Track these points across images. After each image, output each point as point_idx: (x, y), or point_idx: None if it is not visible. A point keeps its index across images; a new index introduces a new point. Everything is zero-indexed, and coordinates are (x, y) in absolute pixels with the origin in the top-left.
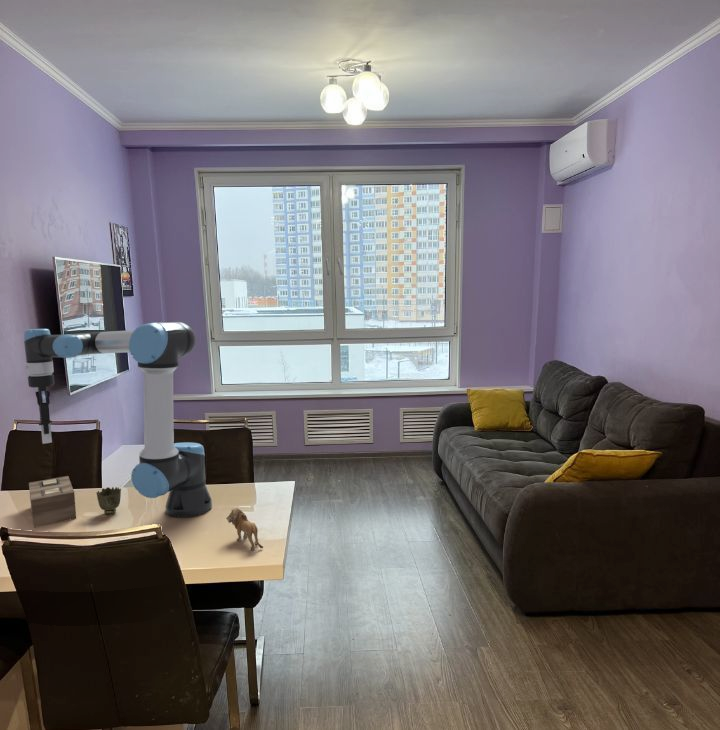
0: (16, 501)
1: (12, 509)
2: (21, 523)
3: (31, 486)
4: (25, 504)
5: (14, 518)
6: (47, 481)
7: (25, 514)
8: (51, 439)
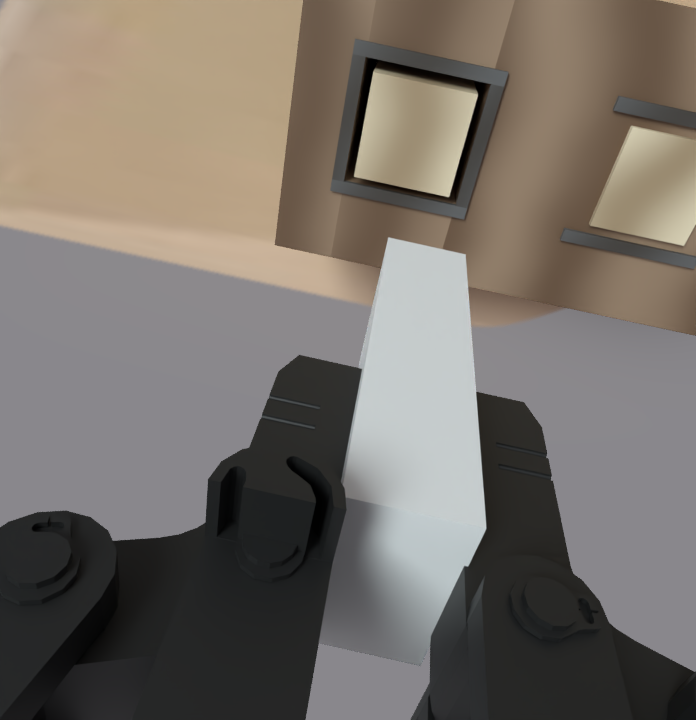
0: (143, 213)
1: (269, 259)
2: None
3: None
4: (230, 190)
5: None
6: (391, 149)
7: None
8: (465, 282)
